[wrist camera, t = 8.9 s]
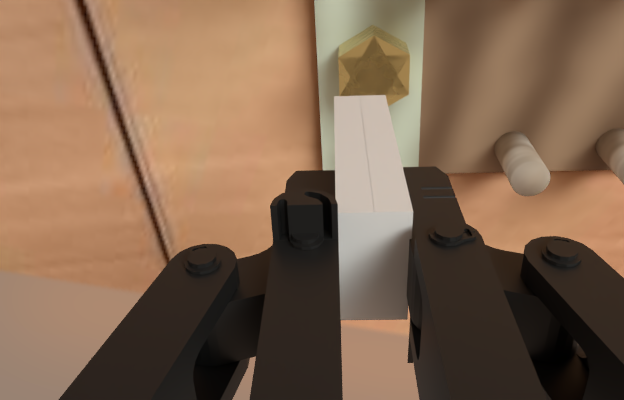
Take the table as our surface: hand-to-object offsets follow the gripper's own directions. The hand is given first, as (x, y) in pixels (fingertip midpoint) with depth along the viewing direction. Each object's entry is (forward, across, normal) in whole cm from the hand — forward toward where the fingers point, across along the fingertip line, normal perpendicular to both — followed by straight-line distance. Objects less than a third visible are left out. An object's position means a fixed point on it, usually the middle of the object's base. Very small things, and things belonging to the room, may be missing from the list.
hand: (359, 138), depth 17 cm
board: (+23, +10, -4) cm, 25 cm away
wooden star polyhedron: (+22, +2, -4) cm, 23 cm away
